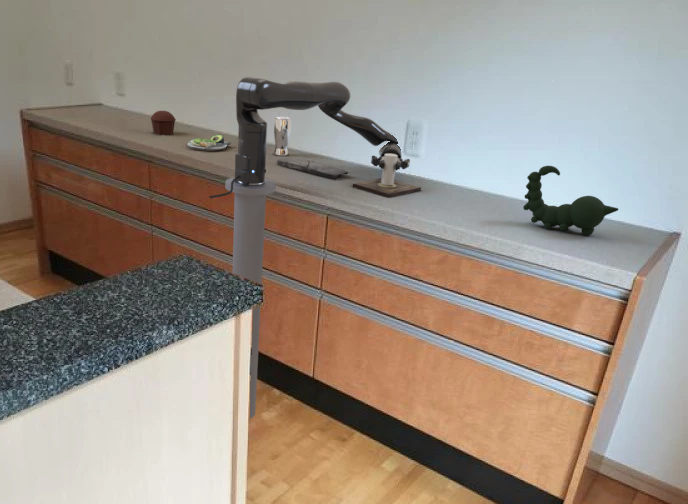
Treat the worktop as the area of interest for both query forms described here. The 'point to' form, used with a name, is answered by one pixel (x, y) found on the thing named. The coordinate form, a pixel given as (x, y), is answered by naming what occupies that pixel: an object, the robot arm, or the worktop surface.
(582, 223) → the toy figurine
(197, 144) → the salad plate
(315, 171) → the stone slab
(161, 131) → the muffin
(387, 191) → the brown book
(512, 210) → the worktop surface
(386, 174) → the white cylinder
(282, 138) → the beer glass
